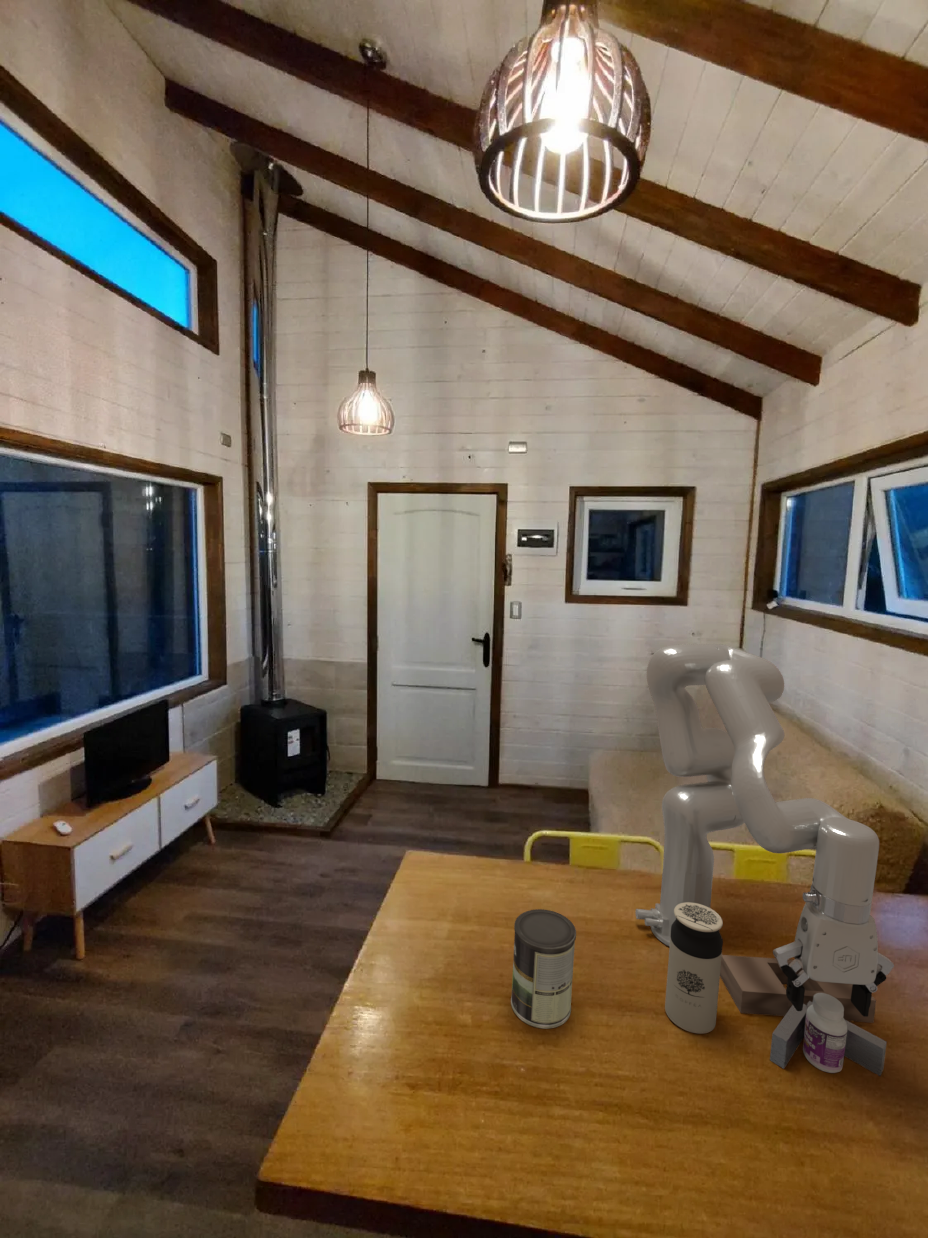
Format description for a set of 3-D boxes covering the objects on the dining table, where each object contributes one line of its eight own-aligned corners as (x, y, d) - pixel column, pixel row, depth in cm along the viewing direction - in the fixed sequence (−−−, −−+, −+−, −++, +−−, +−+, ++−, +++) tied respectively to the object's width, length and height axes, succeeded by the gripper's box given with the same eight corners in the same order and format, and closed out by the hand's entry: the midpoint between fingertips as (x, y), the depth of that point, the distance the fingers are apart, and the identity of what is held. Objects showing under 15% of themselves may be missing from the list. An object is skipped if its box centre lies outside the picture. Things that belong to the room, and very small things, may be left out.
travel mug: (677, 991, 101) (685, 895, 99) (723, 1017, 95) (732, 916, 94) (656, 1014, 95) (664, 913, 94) (703, 1044, 90) (712, 937, 88)
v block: (774, 1068, 86) (777, 1041, 85) (748, 1021, 95) (750, 996, 94) (889, 1077, 85) (893, 1049, 85) (852, 1029, 94) (855, 1004, 93)
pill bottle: (794, 1045, 90) (800, 989, 89) (825, 1044, 91) (831, 988, 90) (818, 1076, 85) (824, 1016, 84) (851, 1074, 85) (858, 1015, 84)
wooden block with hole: (740, 1013, 96) (742, 991, 96) (719, 975, 105) (721, 955, 105) (873, 1022, 95) (876, 1000, 95) (840, 983, 104) (843, 963, 104)
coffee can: (501, 1014, 94) (505, 935, 93) (522, 975, 103) (526, 902, 102) (561, 1039, 90) (566, 956, 88) (578, 996, 99) (583, 920, 98)
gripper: (794, 914, 82) (781, 1022, 84) (917, 923, 81) (902, 1032, 83) (769, 884, 89) (757, 984, 91) (882, 892, 89) (868, 992, 90)
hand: (826, 1006), depth 87 cm, fingers open, 9 cm apart
